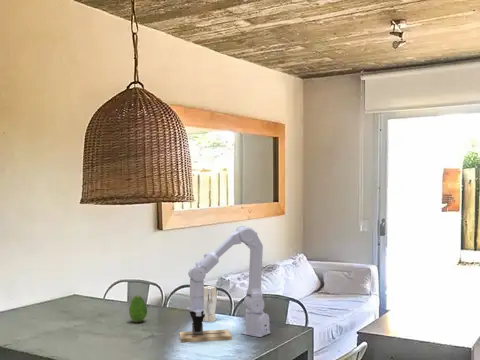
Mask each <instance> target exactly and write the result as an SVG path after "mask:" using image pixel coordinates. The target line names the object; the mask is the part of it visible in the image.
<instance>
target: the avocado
mask: <svg viewBox="0 0 480 360" xmlns="http://www.w3.org/2000/svg"><path fill="white" fill-rule="evenodd" d="M147 307H148V306H147V305H146V302H145V299H144V298H143V297H142V296H140V295H134V296H133V298H132V299H131V302H130V306H129V310H128V311H129V318H130V319H131V321H132V322H134V323H141V322H142V321H144V320H145V318H146V317H147V314H148V308H147Z"/></svg>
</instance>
